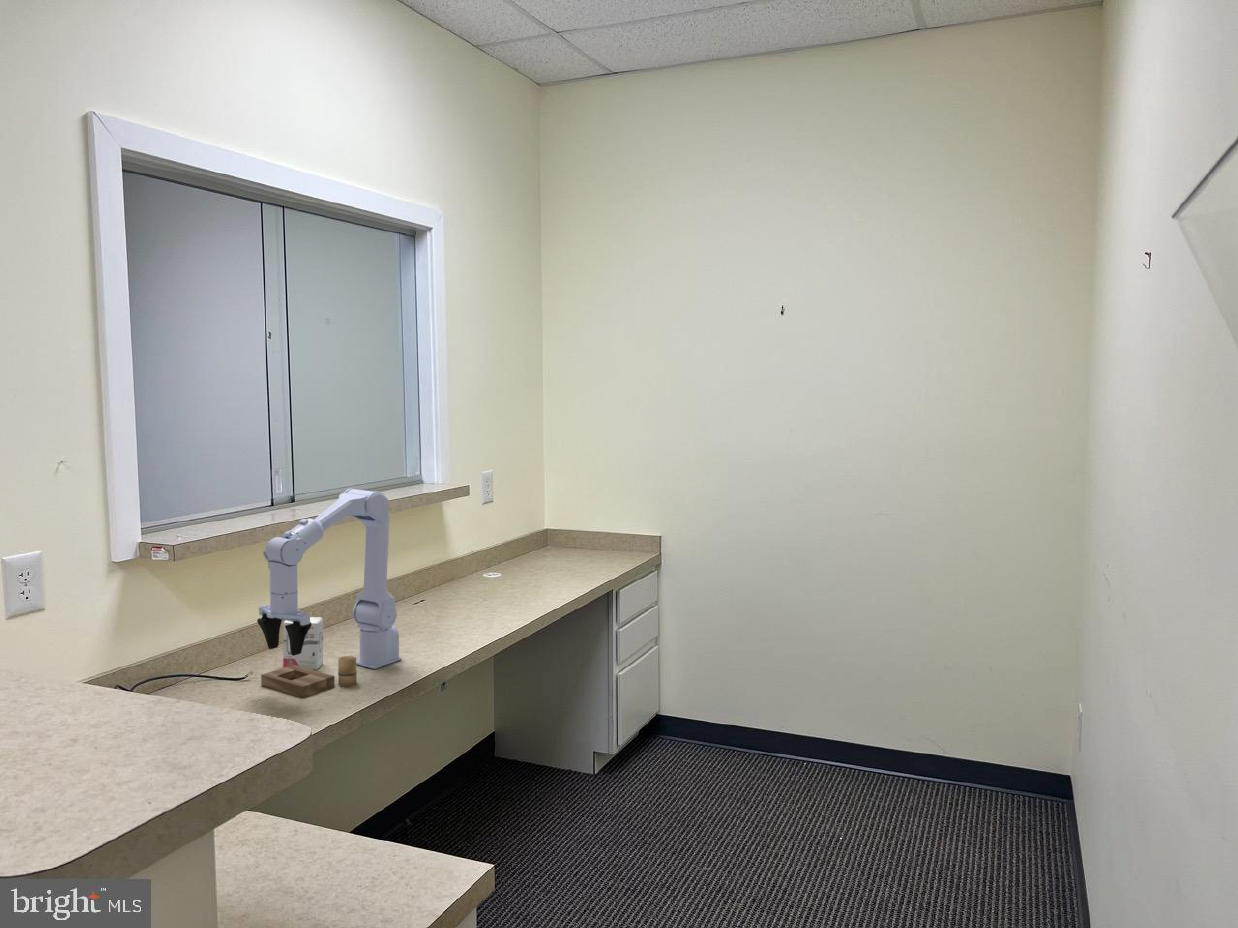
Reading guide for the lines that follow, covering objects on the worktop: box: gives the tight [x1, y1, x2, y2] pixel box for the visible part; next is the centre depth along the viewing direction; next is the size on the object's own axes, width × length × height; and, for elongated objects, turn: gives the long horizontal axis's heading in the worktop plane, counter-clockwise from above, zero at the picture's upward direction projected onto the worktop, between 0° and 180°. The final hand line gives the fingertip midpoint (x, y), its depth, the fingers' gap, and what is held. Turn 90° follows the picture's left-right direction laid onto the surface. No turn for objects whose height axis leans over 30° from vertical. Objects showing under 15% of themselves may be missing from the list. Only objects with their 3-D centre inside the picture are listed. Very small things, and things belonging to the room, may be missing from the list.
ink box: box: [282, 616, 324, 671], centre depth 225 cm, size 9×5×12 cm, turn 91°
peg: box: [337, 655, 358, 688], centre depth 214 cm, size 4×4×6 cm
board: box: [260, 665, 336, 698], centre depth 212 cm, size 9×14×2 cm, turn 59°
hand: (284, 651), depth 205 cm, fingers open, 7 cm apart
